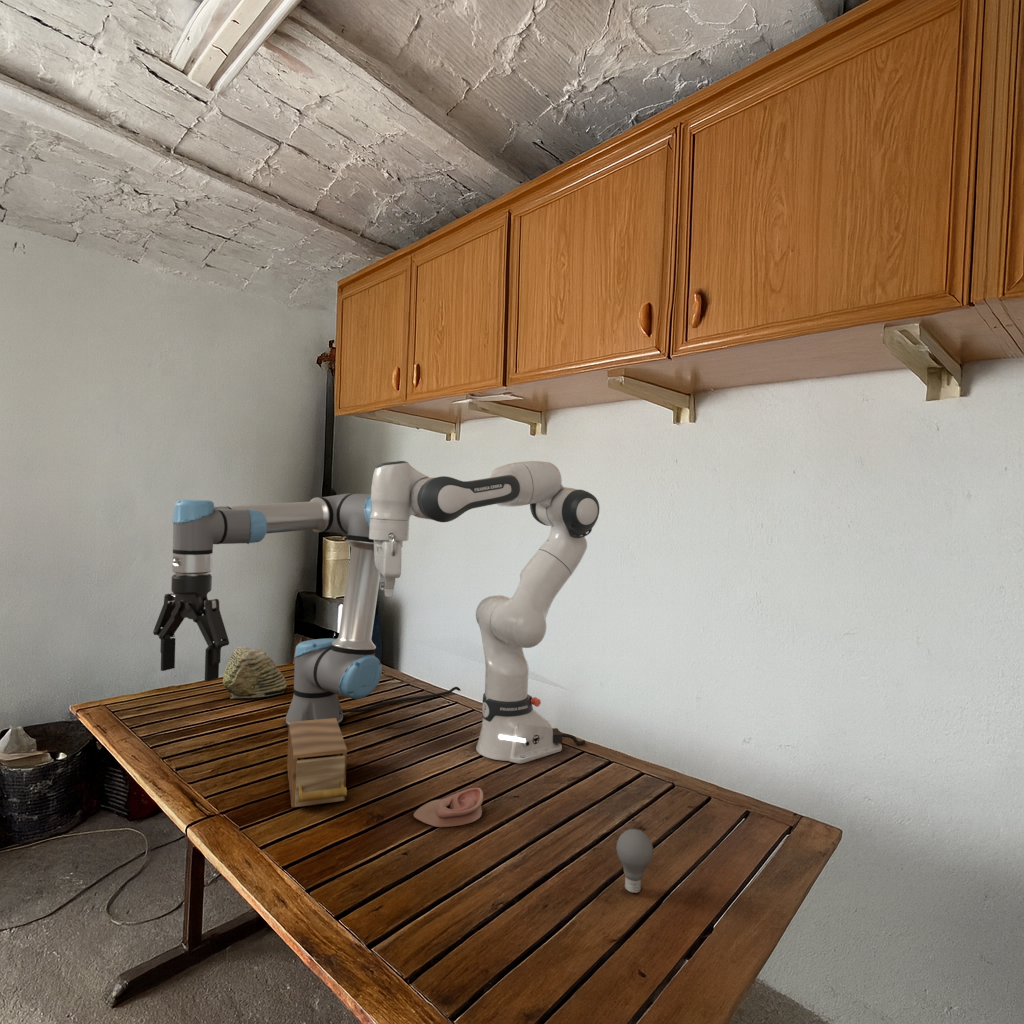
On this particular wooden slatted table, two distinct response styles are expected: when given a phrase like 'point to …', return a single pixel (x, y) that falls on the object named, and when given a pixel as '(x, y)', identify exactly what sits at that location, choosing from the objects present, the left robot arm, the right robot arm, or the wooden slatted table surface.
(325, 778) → the drawer
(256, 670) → the fossil
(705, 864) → the wooden slatted table surface
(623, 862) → the light bulb
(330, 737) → the cabinet
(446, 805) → the anatomical model
